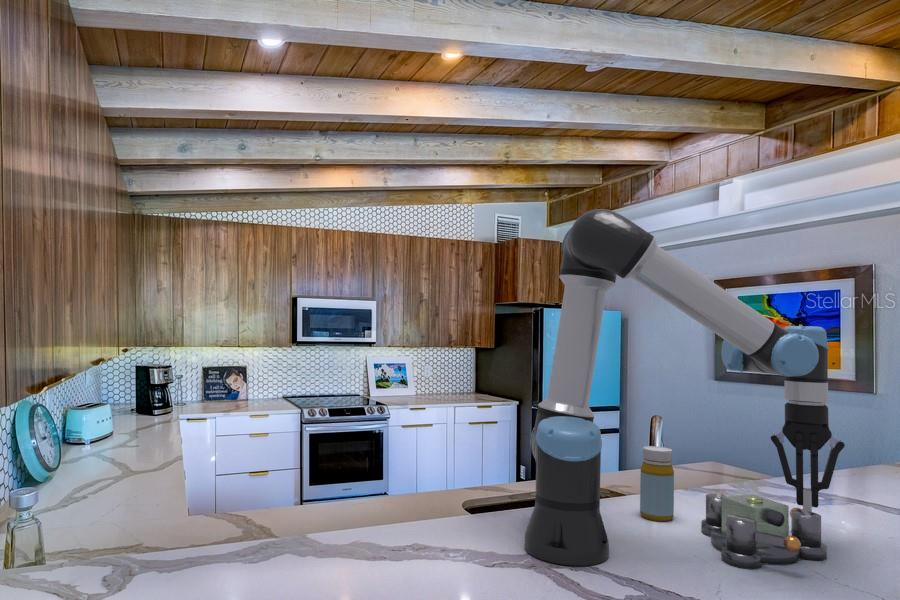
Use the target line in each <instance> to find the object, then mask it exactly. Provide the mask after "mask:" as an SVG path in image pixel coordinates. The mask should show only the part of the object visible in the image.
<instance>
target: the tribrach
mask: <svg viewBox="0 0 900 600" xmlns="http://www.w3.org/2000/svg"><path fill="white" fill-rule="evenodd" d="M728 515H732V516H743V517H748V518H751V519H753V520H755V521H756V531H760V532H765V533H769V534H774V535H779V536H783V537H786V536H790V535H789V531H790V530H789V529H790V528H789V522H790V521H789V520H790V519H789V516H790V510H789V505H787V504H784V503H781V502H778V501H774V500H771V499H768V498H766V497H763V496H759V495H757V494H754V493H753V494H742V495H725V496H724V497H722V526H715V525H711V524H709V523H707V522H706V518H704V519H702V520H701V524H700V525H701V530H700V531H701V533H702V534H703V535H705V536H708V537H710V539H711V541H710V543H711V544H710V545H711V546H712V547H713V548H714V549H716V550H717V551H719V552H720V555H721V558H720V559H721V561H722V562H724V563H725V564H727V565H729V566H732V567H735V568H740V569H746V570H757V569H760V568H762V564H765V565H778V566H780V565H781V566H782V565H783V566H785V565H792V564H796V563H798V562H799V561H800V560H801V559H802V560H807V561H813V562H814V561H815V562H822V561H826V560H827V556H828V555H827V554H828V553H827V552H828V551H827V545H826V544H824V543H822V542H821V546H820V547H810V546H804V545H801V548H800V550H798V551H797V552H791V551H789V550H787V549H786V548H785V547H781V546H777V545H773V544H768V543H764V542H760V541H756V553H755V554H741V553H736V552H733V551H731V550H729V549H727V548H726V517H727V516H728Z"/></svg>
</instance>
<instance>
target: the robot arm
mask: <svg viewBox="0 0 900 600" xmlns="http://www.w3.org/2000/svg"><path fill="white" fill-rule="evenodd" d="M656 240H657V239H656V237H655V236H654V235H653V234H651V233H650V232H648V231H646V230H645V229H644V228H642V227H641V226H639V225H637V224H636V223H634V222H633V221H632V220H630V219H629V218H627V217H625V216H623V215H622V214H620V213H618V212H616V211H614V210H611V209H607V208H606V209H605V208H604V209H603V208H598V209H597V208H596V209H591V210H588V211H586V212H584V213H583V214H581V215H580V216H579V217H578V218H576V220H575V222H574V223H573V224H572V226H571V227H570V228H569V230H567V232H566V233H565V235H564V238H563V240H562V243H561V256H562V258H561V265H560V270H559V276H558V278H559V279H560V280H561V282H562V283H563V284H564V290H563V291H564V292H563V295H562V296H563V297H562V303H561V310H560V315H559V321H558V326H557V327H558V328H557V333H556V341H555V345H554V353H553V359H552V366H551V371H550V376H549V382H548V389H547V394H546V397H545V399H543V401H541V402H539V403H538V404H537V405H538V406H537V411H536V418H535V423H534V427H533V428H532V431H531V432H530V433H531V434H530V439H529V443H530V444H529V445H530V450H531V453H532V456H533V459H535V472H536V473H535V501H534V506H533V510H532V513H531V516H530V519H529V522H528V525H527V527H526V530H525V533H524V549H525V551H526V552H527V553H528V554H530V555H531V556H533V557H534V558H537V559H539V560H542V561H545V562H548V563H553V564H556V565H557V564H558V565H564V566H578V567H579V566H582V567H583V566H592V565H597V564H600V563H603V562H605V561H607V559H608V558H609V556H610V542H609V538H608V535H607V532H606V529H605V524H604V521H603V518H602V514H601V508H600V506H601V502H600V501H601V466H602V465H601V464H602V461H601V460H602V457H601V456H602V455H601V454H602V447H603V440H602V436H601V435H602V434H601V429H600V427H599V426H598V425H597V424H596V423H595V422H594V419H595V413H594V412H593V411H592V410H591V408H590V406H589V403H590V397H591V391H592V390H591V389H592V383H593V378H594V370H595V366H596V359H597V353H598V346H599V342H600V341H599V340H600V332H601V327H602V321H603V315H604V310H605V301H606V296H607V292H608V291H610V290H611V289H612V288H613V287H615V286H616V280H617V277H618V276H619V277H620V278H621V279H623V280H627V279H631V280H632V279H633V280H634V281H635V282H637V283H638V284H641V285H642V286H643V287H645V288H646V289H648V290H649V291H651V292H652V293H654V294H655V295H657V296H658V297H659V298H662V299H663V300H664V301H666V302H667V303H668V304H671V305H672V306H674V308H676V309H678V310H679V311H680V312H683V313H684V314H685V315H687V316H689V317H690V318H691V319H693V320H695V321H696V322H697V323H699V324H700V325H702V326H703V327H705V328H706V329H707V330H710V331H711V332H712V333H713V334H715V335H717V336H719V337H720V338H722V339H723V341H722V344H721V351H720V352H721V354H720V355H721V360H722V363H723V365H724V367H725V368H726V369H727V370H728V371H732V372H733V371H734V372H741V373H743V372H749V373H750V372H751V373H752V372H753V373H754V372H755V373H762V374H770V375H772V374H773V375H779V376H782V377H783V378H784V379H783V380H784V399H785V401H787V402H785V404H784V425H782V428H781V431H779V432H777V433H773V434H771V435H770V440H771V442H772V443H773V445H774V446H775V448H776V450H777V455H778V457H779V461H780V465H781V468H782V472H783V476H784V479H785V482H786V484H787V485H789V486H792V487H794V488H795V493H796V495H795V496H796V499H795V500H796V501H795V502H796V504H797V505H798V506H802V509H805V510H806V511H809V512H813V511H812V510H813V508H819V492H820V491H821V490H828V489H829V488H830V486H831V482H832V478H833V474H834V471H835V467H836V464H837V459H838V458H839V454H840V453H841V451H843V449H844V448H845V446H846V444H845V442H844V441H842V440H839V438H837V437H835V436H834V435H833V434H832V431H831V429H830V426H829V406H827V405H826V404H827V403H828V402H829V383H828V377H829V375H828V374H829V373H828V371H829V369H828V361H829V360H828V359H829V357H828V356H829V355H828V353H829V347H828V344H829V343H828V337H827V330H826V329H825V328H824V327H822V326H814V325H813V326H812V325H811V326H810V325H809V326H806V325H805V326H803V325H798V326H797V325H790V326H785V327H782V326H780V325H779V324H777V323H775V322H773V321H772V320H771V319H769V318H768V317H766V316H765V315H763V314H762V313H760V312H759V311H757V310H756V309H754V308H752V307H751V306H750V305H748V304H747V303H745V302H744V301H742V300H740V299H739V298H738V297H736V296H735V295H733V294H731V293H730V292H728V291H726V290H725V289H724V288H723V287H722V286H720V285H718V284H716V283H715V282H713V281H712V280H710V279H709V278H707V277H706V276H704V275H703V274H702V273H699V272H698V271H696V270H695V269H693V268H692V267H691V266H689V265H688V264H686V263H685V262H683V261H682V260H680V259H679V258H677V257H676V256H674V255H672V254H671V253H670V252H668V251H667V250H666V249H664V248H662V247H661V246H659V245H658V244H657V241H656ZM784 437H785V438H786V439H787V441H788V442H789V443H790V444H791V446H792V447H793V448H794V449H795V478H793V476H792V472H791V468H790V465H789V462H788V458H787V455H786V454H787V453H786V451H785V447H784V443H785V438H784ZM827 442H829V444H828V445H829V447H830V450H829V454H828V457H827V461H826V464H825V468H824V471H823V475H822V479H821V481H819V451H820V450H822V448H823V447H824V446H825V445H826V444H827ZM804 450H808V451H809V452H810V453H809V454H810V455H809V456H810V461H809V462H810V463H809V464H810V469H809V470H810V487H809V488H808V487H804Z"/></svg>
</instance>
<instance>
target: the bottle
mask: <svg viewBox="0 0 900 600" xmlns="http://www.w3.org/2000/svg"><path fill="white" fill-rule="evenodd" d="M672 460H673V449H672V448H669V447H665V446H658V445H657V446H656V445H646V446H643V447H642V464H641V466H640V483H639V484H640V487H639V489H640V490H639V491H640V493H639V513H640V515H641V516H642V518H644V519H646V520H649V521H652V522H653V521H654V522H660V523H661V522H665V523H666V522H670V521H671V520H673V518H674V512H675V506H674V505H675V502H674V501H675V499H674V498H675V496H674V495H675V471H674V467H673V461H672Z"/></svg>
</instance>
